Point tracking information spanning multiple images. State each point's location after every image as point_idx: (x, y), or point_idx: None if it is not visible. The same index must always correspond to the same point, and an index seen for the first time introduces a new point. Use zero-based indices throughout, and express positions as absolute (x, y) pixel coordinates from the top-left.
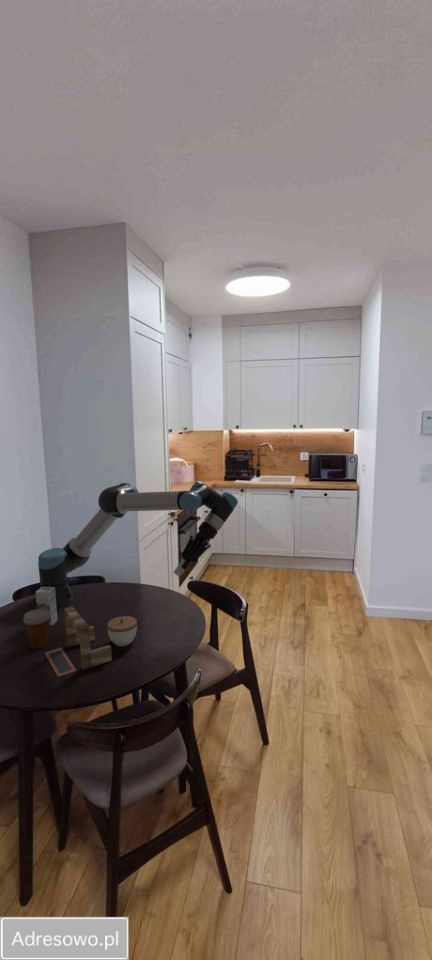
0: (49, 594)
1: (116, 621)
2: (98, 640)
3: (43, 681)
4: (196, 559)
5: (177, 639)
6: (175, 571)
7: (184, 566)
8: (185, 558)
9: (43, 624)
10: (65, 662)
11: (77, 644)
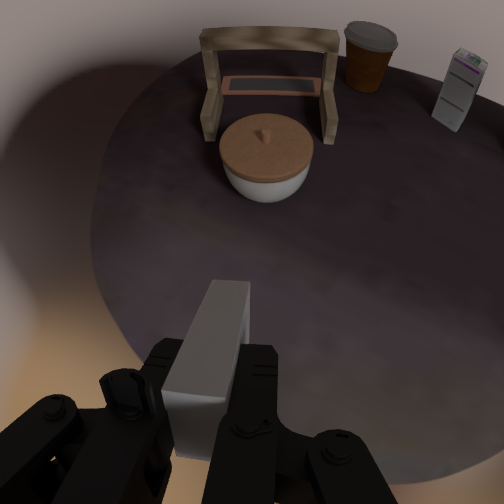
0: (454, 59)
1: (281, 132)
2: (315, 147)
3: (229, 66)
4: (39, 481)
5: (168, 307)
6: (222, 286)
7: (151, 358)
8: (118, 375)
9: (349, 44)
10: (259, 87)
11: (320, 115)
